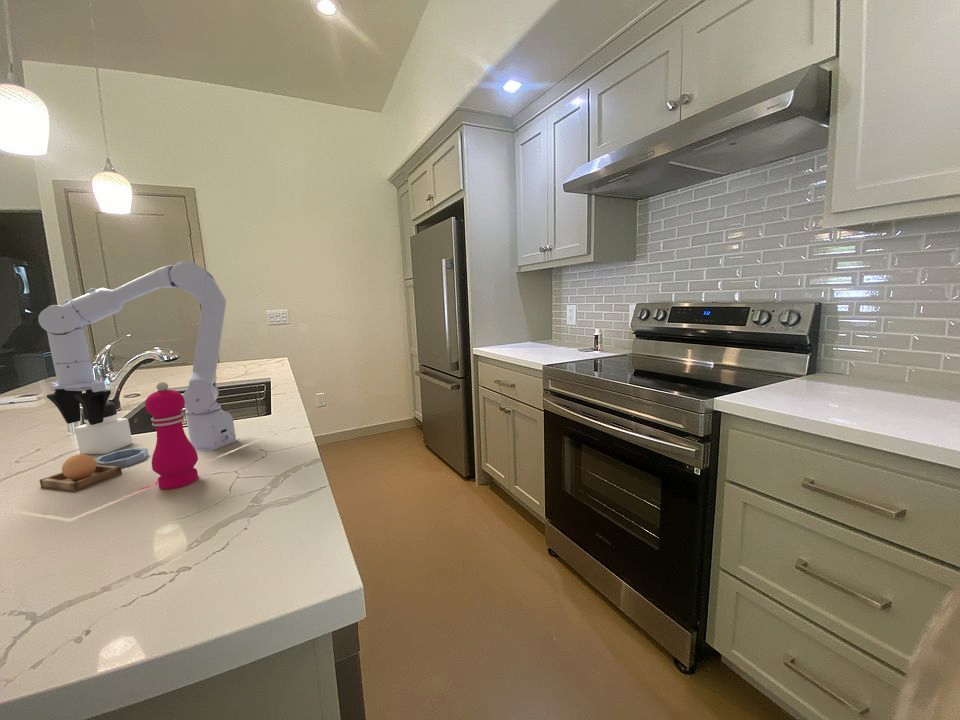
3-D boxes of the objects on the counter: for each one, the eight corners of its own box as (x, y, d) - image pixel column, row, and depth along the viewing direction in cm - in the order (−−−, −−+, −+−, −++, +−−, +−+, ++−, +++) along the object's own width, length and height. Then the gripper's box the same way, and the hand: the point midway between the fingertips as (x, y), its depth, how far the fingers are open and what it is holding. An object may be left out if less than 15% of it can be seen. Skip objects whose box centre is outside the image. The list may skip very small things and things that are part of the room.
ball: (105, 473, 84) (99, 450, 84) (76, 485, 80) (70, 460, 79) (88, 472, 86) (82, 449, 85) (58, 483, 81) (52, 459, 80)
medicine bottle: (133, 444, 105) (125, 399, 104) (106, 455, 98) (96, 406, 97) (108, 445, 106) (99, 400, 104) (79, 455, 99) (69, 407, 97)
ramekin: (156, 457, 95) (155, 449, 95) (113, 473, 87) (111, 464, 86) (130, 455, 98) (128, 447, 97) (85, 470, 89) (84, 461, 89)
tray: (122, 475, 85) (120, 466, 85) (75, 494, 78) (72, 484, 77) (90, 472, 88) (88, 463, 88) (41, 489, 81) (39, 479, 80)
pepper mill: (177, 491, 76) (158, 386, 73) (145, 490, 78) (126, 386, 75) (210, 475, 83) (194, 378, 80) (180, 473, 85) (163, 378, 82)
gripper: (26, 365, 87) (40, 427, 89) (71, 365, 83) (85, 430, 85) (67, 360, 94) (80, 417, 96) (111, 359, 89) (123, 419, 91)
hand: (85, 422), depth 91 cm, fingers open, 7 cm apart
